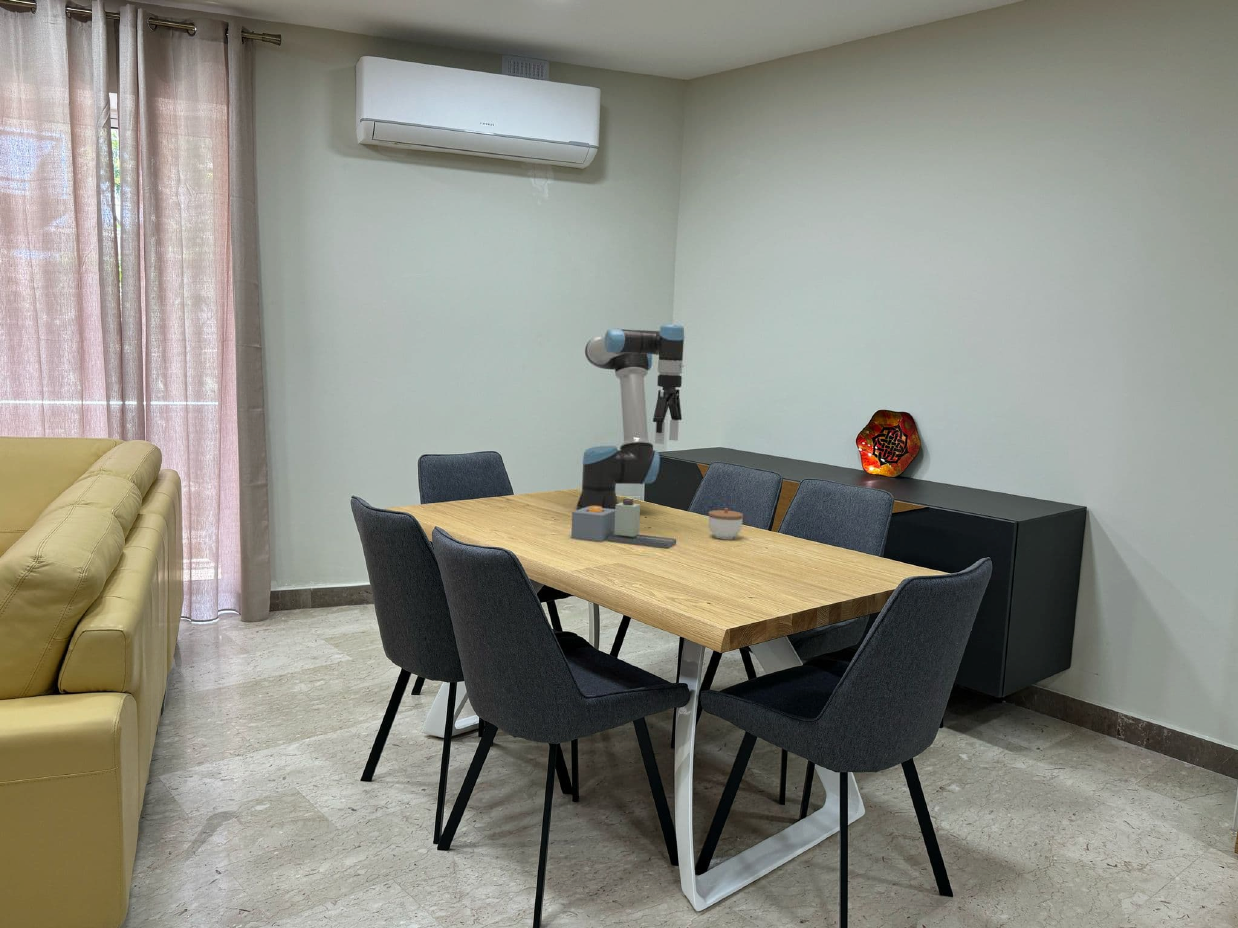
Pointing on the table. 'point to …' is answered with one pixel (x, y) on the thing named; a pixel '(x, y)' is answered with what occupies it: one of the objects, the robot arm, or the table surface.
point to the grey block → (593, 524)
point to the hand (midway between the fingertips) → (666, 442)
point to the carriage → (627, 518)
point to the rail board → (643, 540)
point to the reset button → (595, 509)
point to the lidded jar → (725, 523)
